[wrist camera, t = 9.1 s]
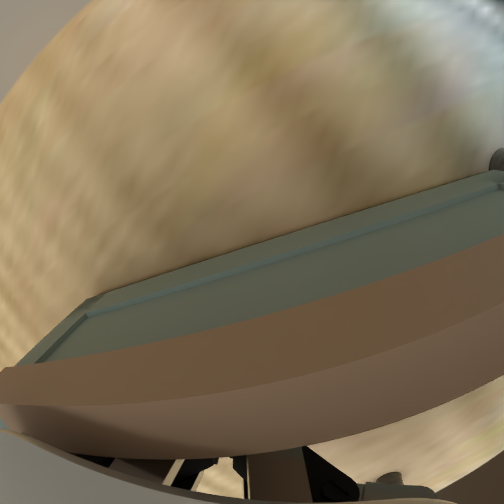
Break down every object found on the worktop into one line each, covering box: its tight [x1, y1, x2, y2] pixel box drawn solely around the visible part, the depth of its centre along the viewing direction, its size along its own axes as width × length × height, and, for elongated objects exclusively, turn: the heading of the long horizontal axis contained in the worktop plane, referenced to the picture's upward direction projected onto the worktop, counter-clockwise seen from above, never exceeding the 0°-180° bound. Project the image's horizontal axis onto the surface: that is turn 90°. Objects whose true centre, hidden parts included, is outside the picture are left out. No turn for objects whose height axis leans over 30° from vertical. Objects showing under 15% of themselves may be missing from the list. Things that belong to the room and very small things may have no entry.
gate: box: [0, 170, 504, 460], centre depth 8 cm, size 19×2×8 cm, turn 110°
